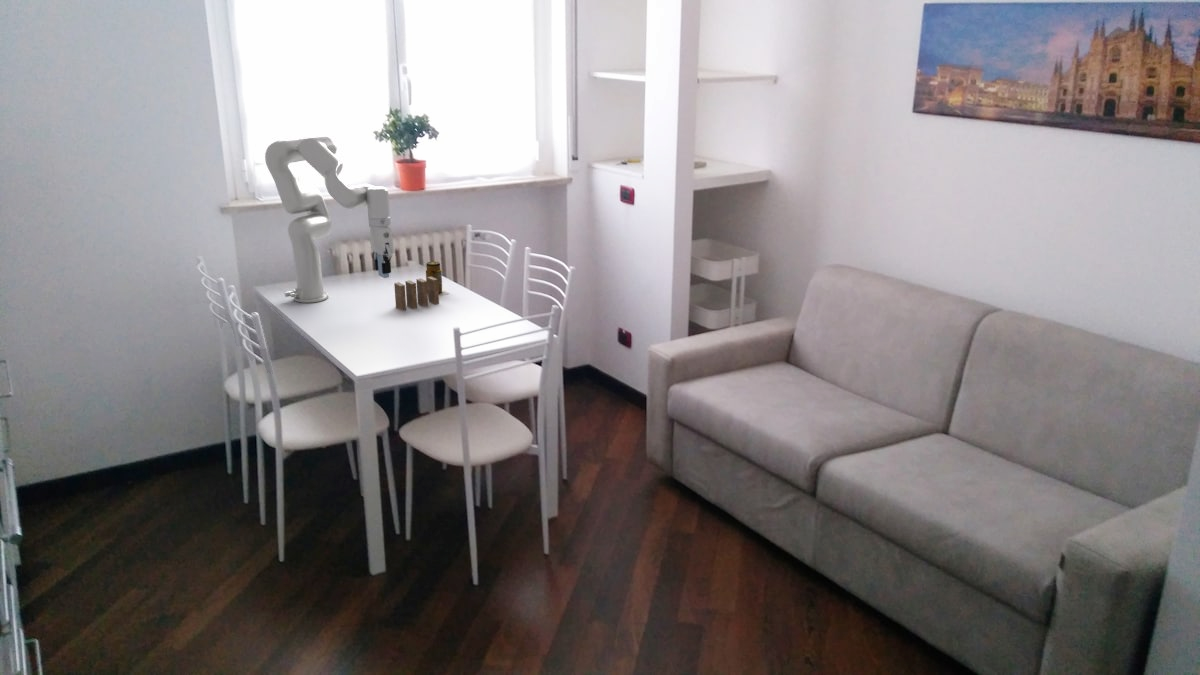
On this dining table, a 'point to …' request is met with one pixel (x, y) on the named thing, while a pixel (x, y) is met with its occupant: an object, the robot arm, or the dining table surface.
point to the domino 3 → (411, 294)
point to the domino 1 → (381, 266)
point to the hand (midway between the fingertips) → (383, 271)
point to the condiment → (435, 275)
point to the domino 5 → (433, 290)
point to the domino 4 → (422, 292)
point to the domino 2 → (400, 296)
